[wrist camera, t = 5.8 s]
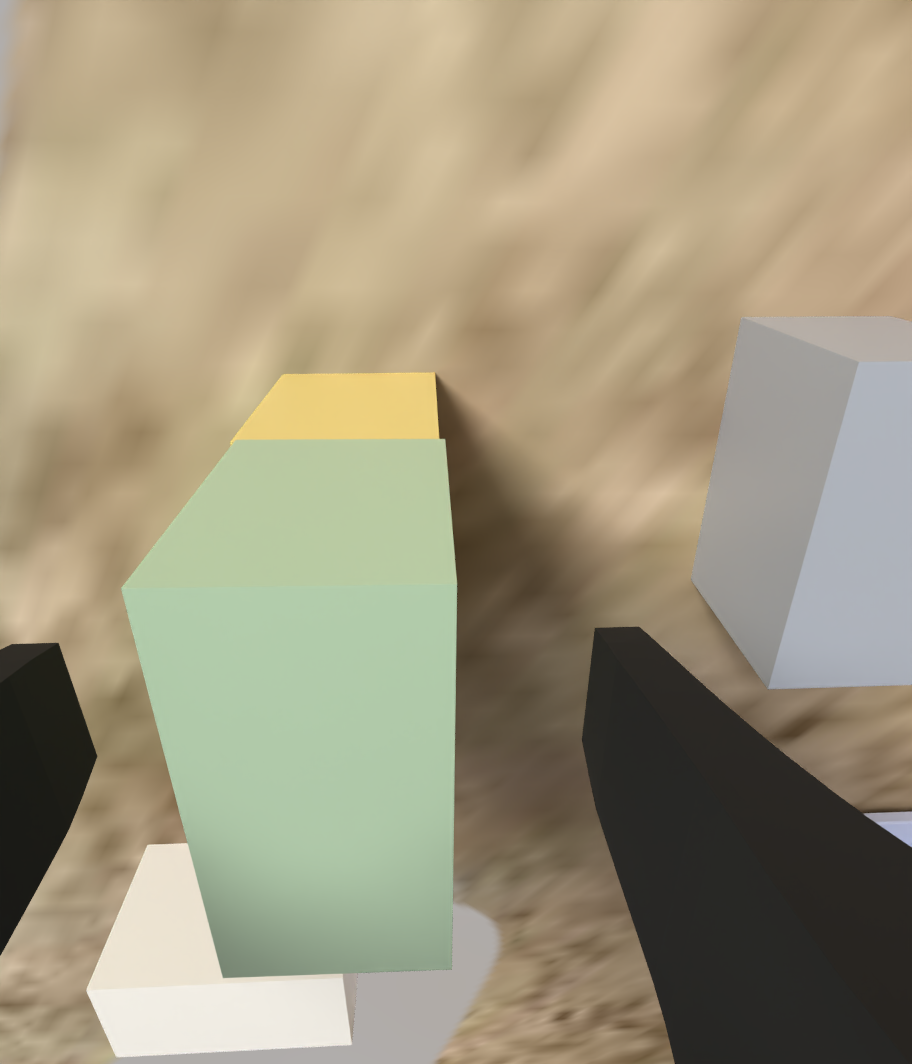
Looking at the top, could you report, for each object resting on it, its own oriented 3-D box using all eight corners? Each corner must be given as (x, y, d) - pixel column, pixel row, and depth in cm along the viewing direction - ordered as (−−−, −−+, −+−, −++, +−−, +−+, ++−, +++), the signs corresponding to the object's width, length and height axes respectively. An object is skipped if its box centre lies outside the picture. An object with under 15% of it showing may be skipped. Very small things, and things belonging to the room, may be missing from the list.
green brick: (444, 744, 12) (451, 969, 9) (282, 748, 12) (222, 978, 9) (444, 438, 10) (457, 583, 6) (236, 439, 9) (120, 588, 6)
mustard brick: (438, 621, 16) (443, 744, 12) (313, 624, 16) (281, 750, 12) (434, 372, 13) (439, 439, 10) (282, 373, 13) (230, 442, 9)
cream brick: (357, 833, 19) (342, 977, 16) (364, 898, 21) (352, 1044, 17) (149, 841, 19) (86, 990, 15) (169, 906, 20) (116, 1057, 17)
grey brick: (811, 574, 16) (925, 684, 12) (689, 577, 16) (767, 689, 12) (886, 315, 13) (1059, 360, 10) (739, 316, 13) (858, 361, 9)
